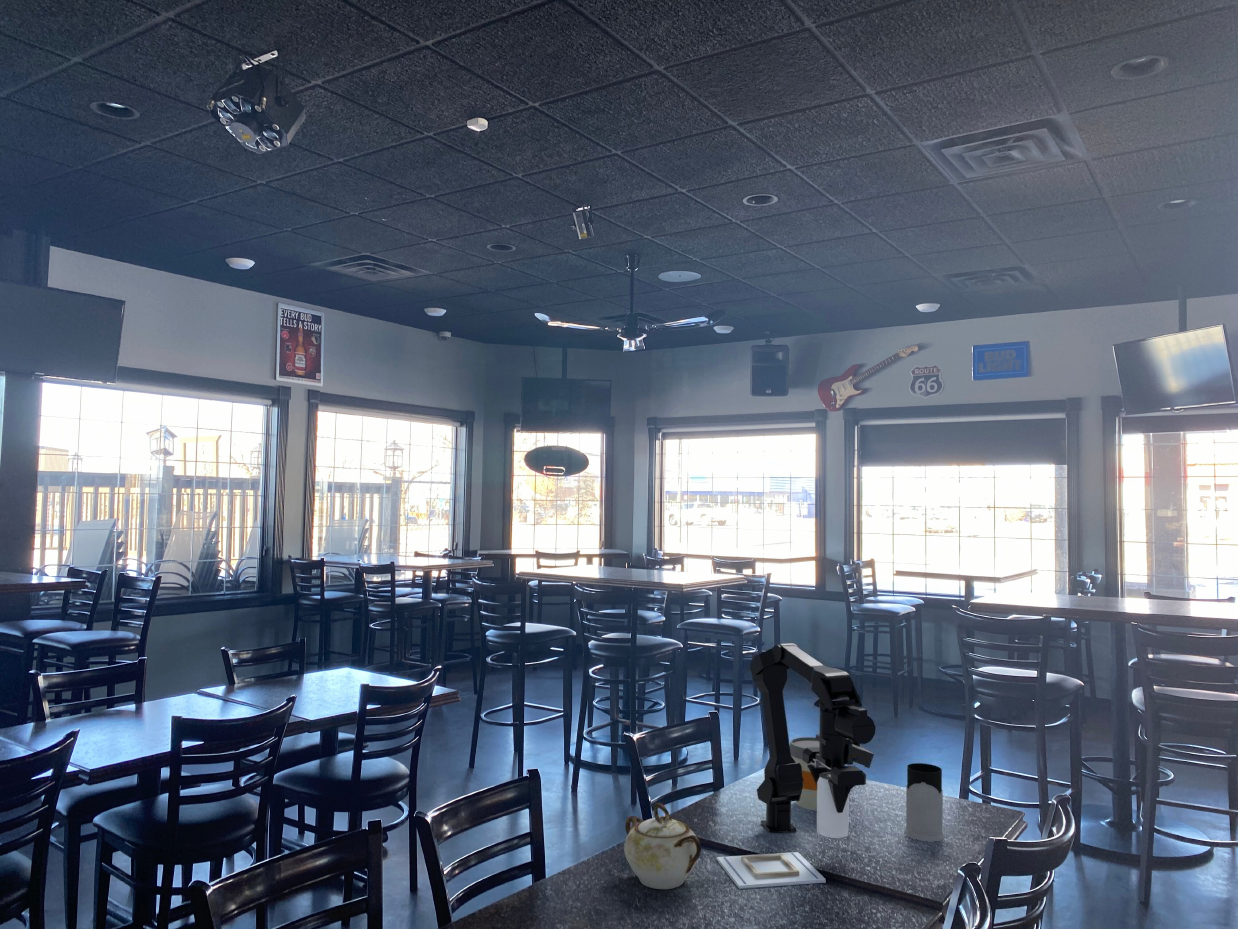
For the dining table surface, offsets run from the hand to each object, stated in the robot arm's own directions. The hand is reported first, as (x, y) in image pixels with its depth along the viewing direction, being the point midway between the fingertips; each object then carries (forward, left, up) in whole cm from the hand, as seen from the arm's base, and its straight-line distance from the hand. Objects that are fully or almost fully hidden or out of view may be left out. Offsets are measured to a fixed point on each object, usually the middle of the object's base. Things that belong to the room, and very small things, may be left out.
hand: (832, 807), depth 189 cm
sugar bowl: (+4, -38, -11) cm, 40 cm away
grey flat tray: (+3, -15, -11) cm, 19 cm away
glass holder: (-13, +29, -11) cm, 34 cm away
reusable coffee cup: (-34, +11, -11) cm, 37 cm away
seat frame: (+3, -15, -11) cm, 19 cm away
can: (0, 0, -6) cm, 6 cm away
